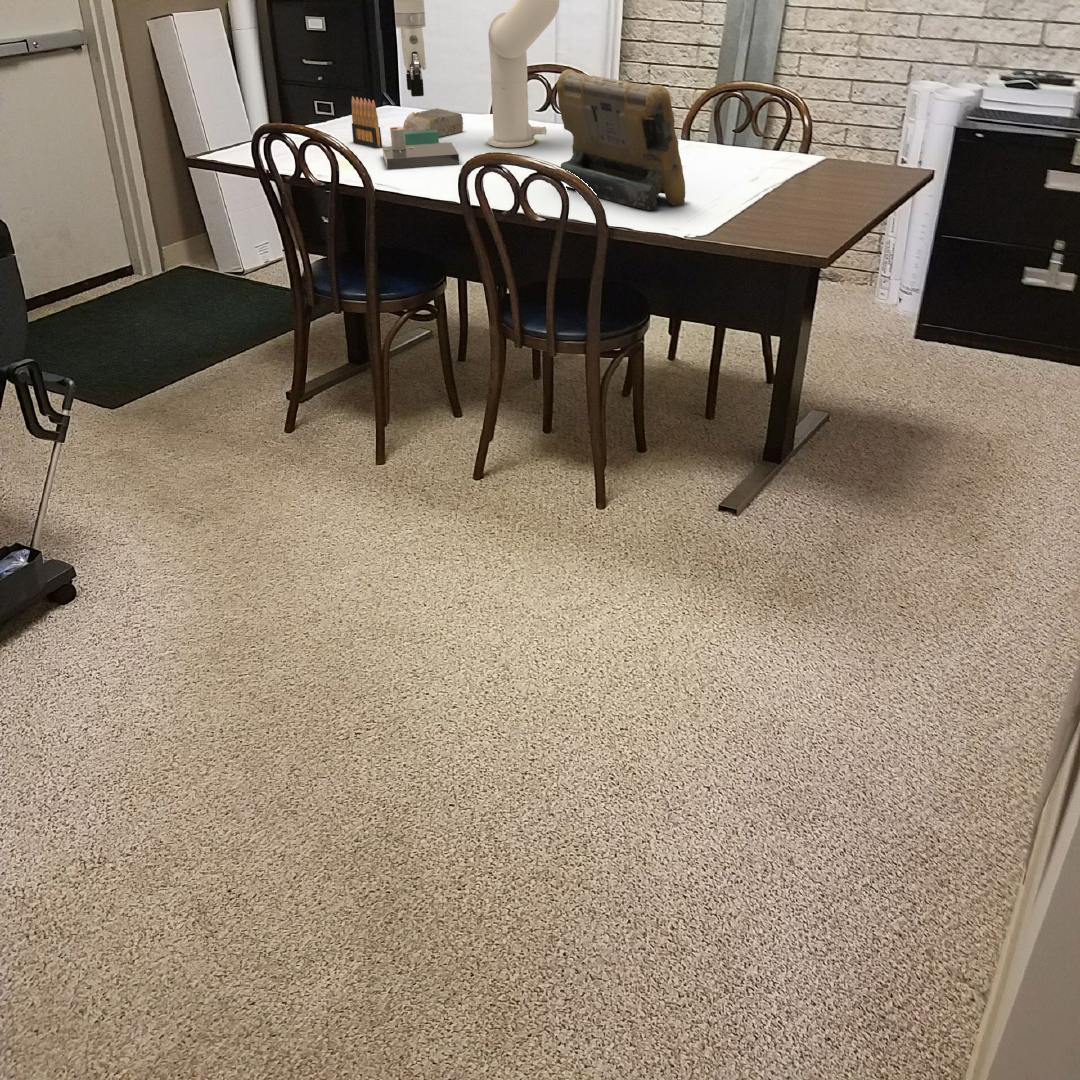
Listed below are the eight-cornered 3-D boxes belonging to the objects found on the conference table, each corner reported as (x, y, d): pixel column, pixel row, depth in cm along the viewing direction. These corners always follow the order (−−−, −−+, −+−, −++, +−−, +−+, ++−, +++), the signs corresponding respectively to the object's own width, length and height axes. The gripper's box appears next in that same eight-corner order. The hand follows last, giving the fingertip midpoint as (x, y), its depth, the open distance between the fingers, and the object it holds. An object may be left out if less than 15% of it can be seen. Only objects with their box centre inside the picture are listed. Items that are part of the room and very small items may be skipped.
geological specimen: (465, 112, 298) (426, 118, 288) (465, 135, 301) (426, 141, 291) (438, 107, 304) (399, 112, 294) (438, 129, 307) (400, 135, 297)
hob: (451, 152, 279) (451, 141, 277) (459, 164, 267) (458, 153, 266) (383, 157, 276) (382, 146, 274) (387, 169, 264) (386, 158, 263)
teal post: (439, 147, 284) (438, 132, 282) (393, 150, 282) (392, 135, 280) (437, 144, 287) (436, 129, 285) (392, 147, 285) (391, 132, 283)
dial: (405, 147, 273) (403, 125, 271) (406, 150, 270) (404, 128, 268) (391, 147, 273) (389, 126, 270) (392, 151, 270) (390, 129, 267)
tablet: (696, 201, 233) (703, 78, 219) (655, 214, 225) (659, 87, 211) (588, 177, 253) (588, 63, 239) (547, 188, 245) (544, 71, 231)
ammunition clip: (382, 146, 286) (377, 99, 279) (377, 148, 285) (372, 100, 278) (358, 141, 292) (353, 95, 286) (353, 142, 291) (347, 96, 285)
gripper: (429, 23, 261) (433, 97, 270) (421, 16, 276) (425, 86, 285) (398, 25, 260) (404, 99, 269) (392, 17, 274) (397, 88, 284)
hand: (415, 92), depth 277 cm, fingers open, 9 cm apart
